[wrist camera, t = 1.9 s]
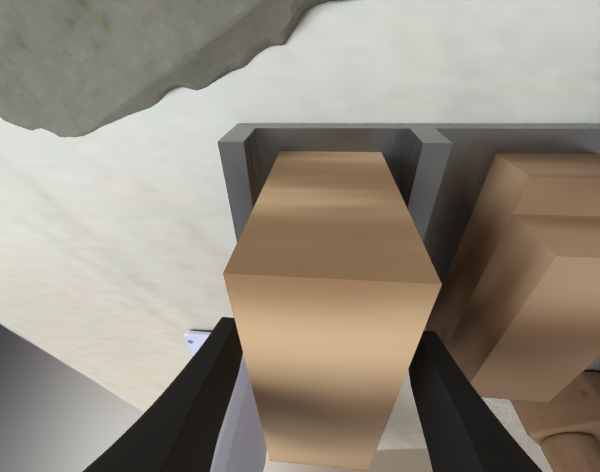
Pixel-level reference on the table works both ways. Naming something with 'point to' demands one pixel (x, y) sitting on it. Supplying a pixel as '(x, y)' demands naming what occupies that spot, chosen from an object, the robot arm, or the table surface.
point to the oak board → (329, 304)
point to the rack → (402, 165)
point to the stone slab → (124, 54)
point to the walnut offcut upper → (533, 310)
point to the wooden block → (567, 424)
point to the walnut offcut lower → (499, 209)
